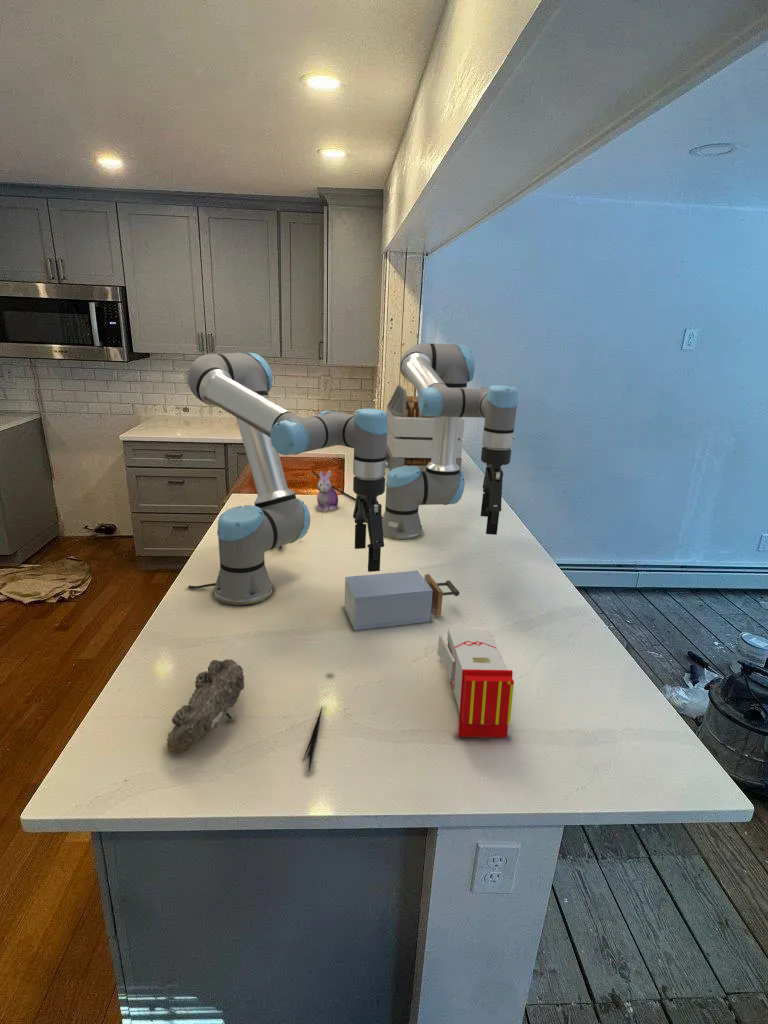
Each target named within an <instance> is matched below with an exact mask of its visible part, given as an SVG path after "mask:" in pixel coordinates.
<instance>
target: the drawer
mask: <svg viewBox="0 0 768 1024" xmlns="http://www.w3.org/2000/svg"><path fill="white" fill-rule="evenodd" d="M424 580H425V581H426V582H427V584H428V585H429V586H430V588H431V589H432V590H433V593H432V604H431V611H432V612H433V613H434V615H435V616H436V617H441V616H442V608H443V607H442V606H443V597H444V596H453V595H454V597H459V595H460V591H459V590H458V589H457V587H456V586H455V585H454V584H453V582H451V580H446V581H445V582H436V580H434V579H433V577H432V576H431V575H430V573H426V574H424ZM443 586H446V587H447V588H448V590H449V591H447V592H444V591H443V590H442V588H441V587H443Z"/></svg>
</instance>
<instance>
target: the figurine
mask: <svg viewBox="0 0 768 1024" xmlns="http://www.w3.org/2000/svg"><path fill="white" fill-rule="evenodd" d="M318 473H319V474H318V475H319V477H320V479H319V481H318V483H317V484H316V485H317V490H318V493H317V495H316V502H317V506H316V508H317V511H319V512H331V511H335V510H336V509H338V506H339V496H338V493H337V490H335V489H333V488H332V486H333V484H332V482H331V480H330V479H331V476H332V470H330V469H329V470H328V471H327V472H326V474H325V473H324V472H323V471H322V470H320V471H319V472H318Z"/></svg>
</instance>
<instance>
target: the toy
mask: <svg viewBox="0 0 768 1024" xmlns="http://www.w3.org/2000/svg"><path fill="white" fill-rule="evenodd" d="M446 640H447V643H446V641H445V639H444V636H443V635H442V634H439V637H438V646H437V656H438V657H439V659H440V661H441V663H442V666H443V668H444V670H445V672H446V674H447V677H448V679H449V681H450V684H451V687H452V690H453V693H454V697H455V701H456V705H457V708H458V711H459V714H458V715H459V716H458V730H457V731H458V732H457V737H458V738H508V731H509V726H510V725H511V717H512V707H513V697H514V696H513V695H514V684H515V680H514V679H513V673H514V671H513V670H512V669H508V667H507V665H506V662H505V661H504V659H503V658H502V655H501V653H500V651H499V649H498V647H497V643H496V639H495V637H494V635H493V634H491V632H490V631H489V629H467V628H466V629H465V628H463V629H461V628H460V629H459V628H448V630H447V639H446Z"/></svg>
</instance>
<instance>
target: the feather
mask: <svg viewBox="0 0 768 1024" xmlns="http://www.w3.org/2000/svg"><path fill="white" fill-rule="evenodd" d="M329 675H330V676H331V675H332V674H331V673H330V674H329ZM322 710H323V707H321V708H320V710H319V713H318V716H317V719H316V723H315V725H314V728H313V731H312V733H311V737H310V739H309V742H308V745H307V748H306V751H305V754H304V757H303V760H302V763H301V767H302V765H303V763H304V761H305V758H308V759H309V760H308V762H307V763H308V764H307V766H308V771H310V770H311V766H312V765H311V764H312V760H313V757H315V756H314V755H315V751H316V749H315V746H317V739H318V733H319V729H320V722H321V717H322V712H323V711H322ZM313 754H314V755H313ZM306 755H307V757H306Z"/></svg>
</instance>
